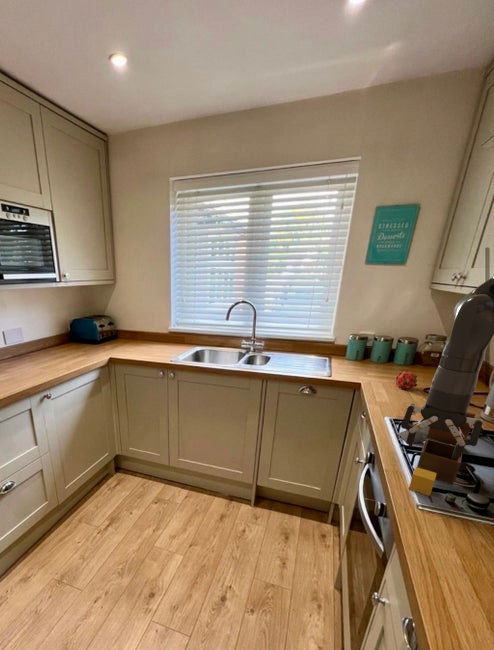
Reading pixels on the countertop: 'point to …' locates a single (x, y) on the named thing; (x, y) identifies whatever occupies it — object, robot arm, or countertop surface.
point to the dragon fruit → (406, 380)
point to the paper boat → (420, 434)
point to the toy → (422, 481)
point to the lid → (448, 436)
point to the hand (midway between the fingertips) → (431, 451)
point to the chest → (439, 460)
